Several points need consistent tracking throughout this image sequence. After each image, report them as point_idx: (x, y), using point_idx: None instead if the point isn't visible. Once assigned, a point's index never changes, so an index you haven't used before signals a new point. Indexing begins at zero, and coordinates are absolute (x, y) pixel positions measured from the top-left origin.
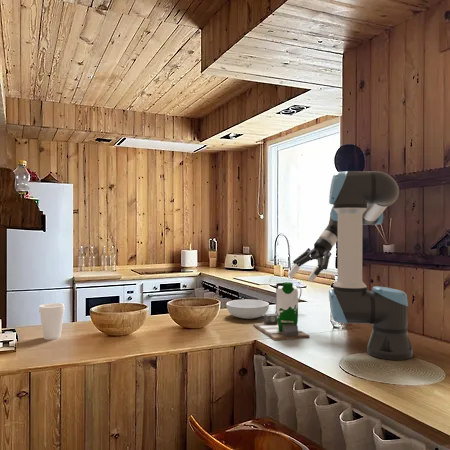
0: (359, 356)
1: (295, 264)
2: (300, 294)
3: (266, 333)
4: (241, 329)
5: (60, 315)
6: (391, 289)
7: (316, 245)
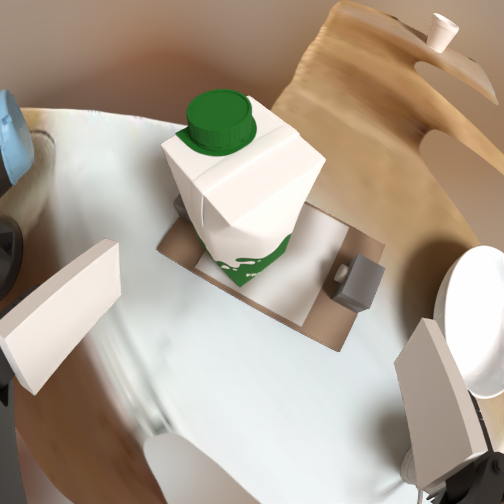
0: (31, 205)
1: (478, 441)
2: None
3: None
4: (368, 193)
5: (435, 26)
6: None
7: None
